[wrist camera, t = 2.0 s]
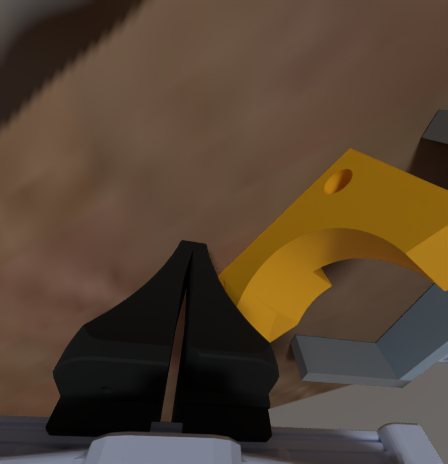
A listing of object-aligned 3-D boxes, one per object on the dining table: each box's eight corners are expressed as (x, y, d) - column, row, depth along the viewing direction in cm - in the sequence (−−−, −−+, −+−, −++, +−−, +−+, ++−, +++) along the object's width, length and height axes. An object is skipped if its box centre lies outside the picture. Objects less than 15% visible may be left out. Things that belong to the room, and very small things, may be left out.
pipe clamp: (250, 310, 17) (266, 411, 12) (205, 286, 16) (199, 389, 10) (393, 197, 13) (530, 280, 7) (348, 147, 11) (479, 203, 6)
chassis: (587, 151, 11) (695, 168, 9) (379, 351, 21) (402, 388, 18) (439, 109, 10) (514, 116, 8) (290, 342, 20) (301, 380, 17)
